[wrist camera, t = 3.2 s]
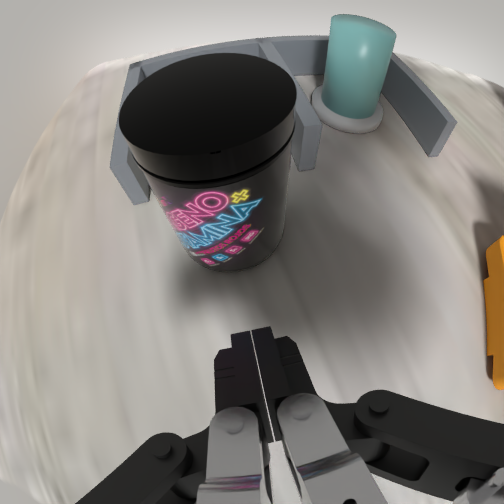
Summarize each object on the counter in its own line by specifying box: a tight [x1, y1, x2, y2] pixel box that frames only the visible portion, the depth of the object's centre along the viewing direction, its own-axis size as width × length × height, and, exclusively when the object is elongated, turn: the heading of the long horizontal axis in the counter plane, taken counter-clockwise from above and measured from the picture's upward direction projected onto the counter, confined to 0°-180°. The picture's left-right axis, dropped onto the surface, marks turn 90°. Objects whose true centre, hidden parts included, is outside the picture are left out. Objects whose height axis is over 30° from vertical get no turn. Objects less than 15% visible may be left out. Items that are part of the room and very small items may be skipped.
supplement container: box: [119, 53, 297, 272], centre depth 14 cm, size 7×7×10 cm
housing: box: [110, 14, 457, 205], centre depth 20 cm, size 14×26×9 cm, turn 101°
